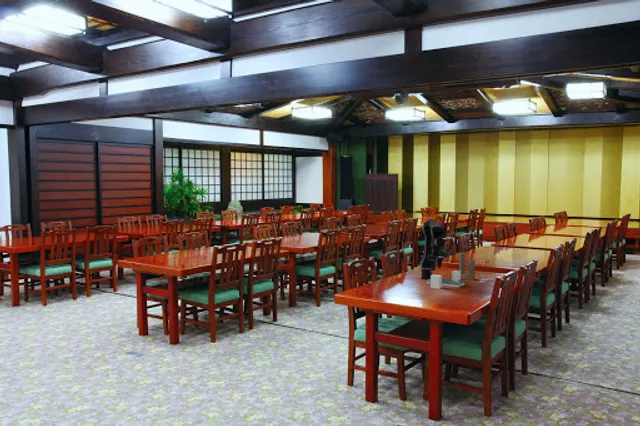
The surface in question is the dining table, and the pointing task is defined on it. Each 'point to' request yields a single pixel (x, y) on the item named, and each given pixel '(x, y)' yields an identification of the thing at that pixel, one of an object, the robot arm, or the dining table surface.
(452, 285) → the rail
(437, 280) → the white rectangular block
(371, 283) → the dining table surface
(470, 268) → the beige frame piece
